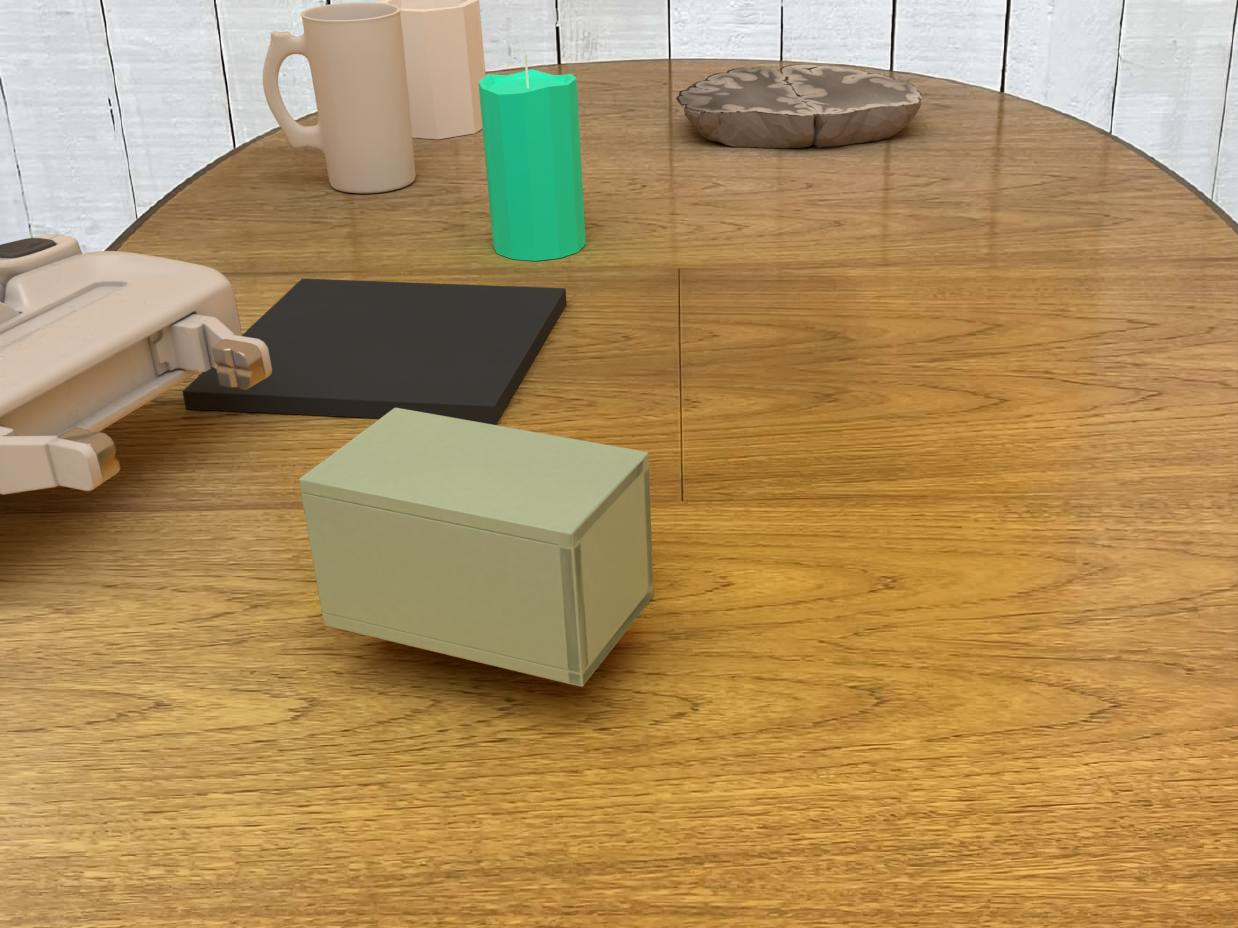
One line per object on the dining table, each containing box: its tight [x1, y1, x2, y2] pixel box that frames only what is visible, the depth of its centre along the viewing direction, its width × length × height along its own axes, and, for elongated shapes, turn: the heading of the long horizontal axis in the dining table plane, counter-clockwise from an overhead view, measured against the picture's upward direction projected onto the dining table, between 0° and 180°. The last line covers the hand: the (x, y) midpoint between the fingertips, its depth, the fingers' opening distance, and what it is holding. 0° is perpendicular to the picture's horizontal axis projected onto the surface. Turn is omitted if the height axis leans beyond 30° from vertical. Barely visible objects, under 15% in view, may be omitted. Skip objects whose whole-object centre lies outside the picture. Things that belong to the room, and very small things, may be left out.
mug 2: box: [375, 0, 487, 141], centre depth 116 cm, size 12×9×10 cm
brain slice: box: [675, 63, 923, 149], centre depth 116 cm, size 20×17×3 cm
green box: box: [298, 408, 655, 688], centre depth 54 cm, size 11×6×6 cm, turn 68°
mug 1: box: [262, 1, 417, 195], centre depth 101 cm, size 10×7×12 cm, turn 100°
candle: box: [478, 53, 587, 262], centre depth 89 cm, size 6×6×12 cm
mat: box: [182, 278, 567, 425], centre depth 77 cm, size 16×16×1 cm
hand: (187, 411), depth 57 cm, fingers open, 8 cm apart
